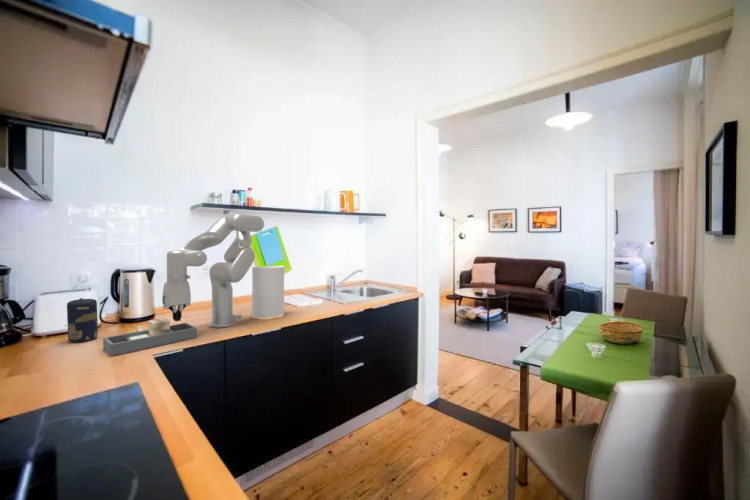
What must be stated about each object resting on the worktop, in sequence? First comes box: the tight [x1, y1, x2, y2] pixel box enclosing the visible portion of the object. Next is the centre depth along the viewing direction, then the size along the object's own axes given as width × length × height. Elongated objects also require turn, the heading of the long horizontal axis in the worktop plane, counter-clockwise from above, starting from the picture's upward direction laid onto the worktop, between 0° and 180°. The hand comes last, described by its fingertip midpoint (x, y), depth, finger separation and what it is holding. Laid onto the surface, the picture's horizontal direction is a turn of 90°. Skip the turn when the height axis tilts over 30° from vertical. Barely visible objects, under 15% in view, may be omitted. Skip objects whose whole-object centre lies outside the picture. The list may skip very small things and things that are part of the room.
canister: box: [66, 297, 99, 343], centre depth 138 cm, size 10×10×18 cm
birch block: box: [148, 317, 171, 336], centre depth 137 cm, size 6×6×6 cm
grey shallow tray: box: [102, 322, 198, 358], centre depth 135 cm, size 30×12×4 cm, turn 140°
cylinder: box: [251, 265, 285, 318], centre depth 183 cm, size 17×17×28 cm
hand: (177, 320), depth 142 cm, fingers closed
